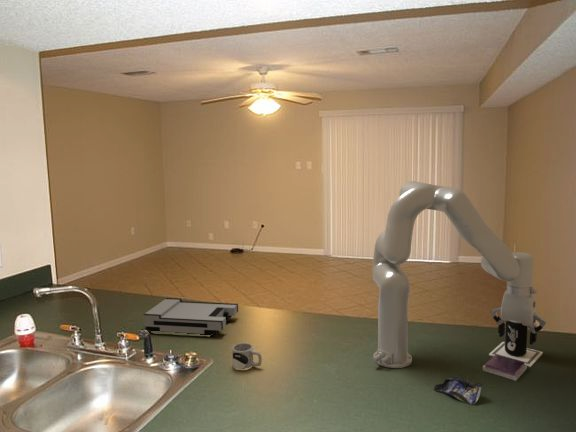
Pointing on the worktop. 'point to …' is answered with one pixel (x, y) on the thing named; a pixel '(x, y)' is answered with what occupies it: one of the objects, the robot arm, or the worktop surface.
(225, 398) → the worktop surface
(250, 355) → the mug
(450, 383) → the snack package
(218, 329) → the game console
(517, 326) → the beverage can
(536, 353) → the marked card
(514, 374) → the ink pad
